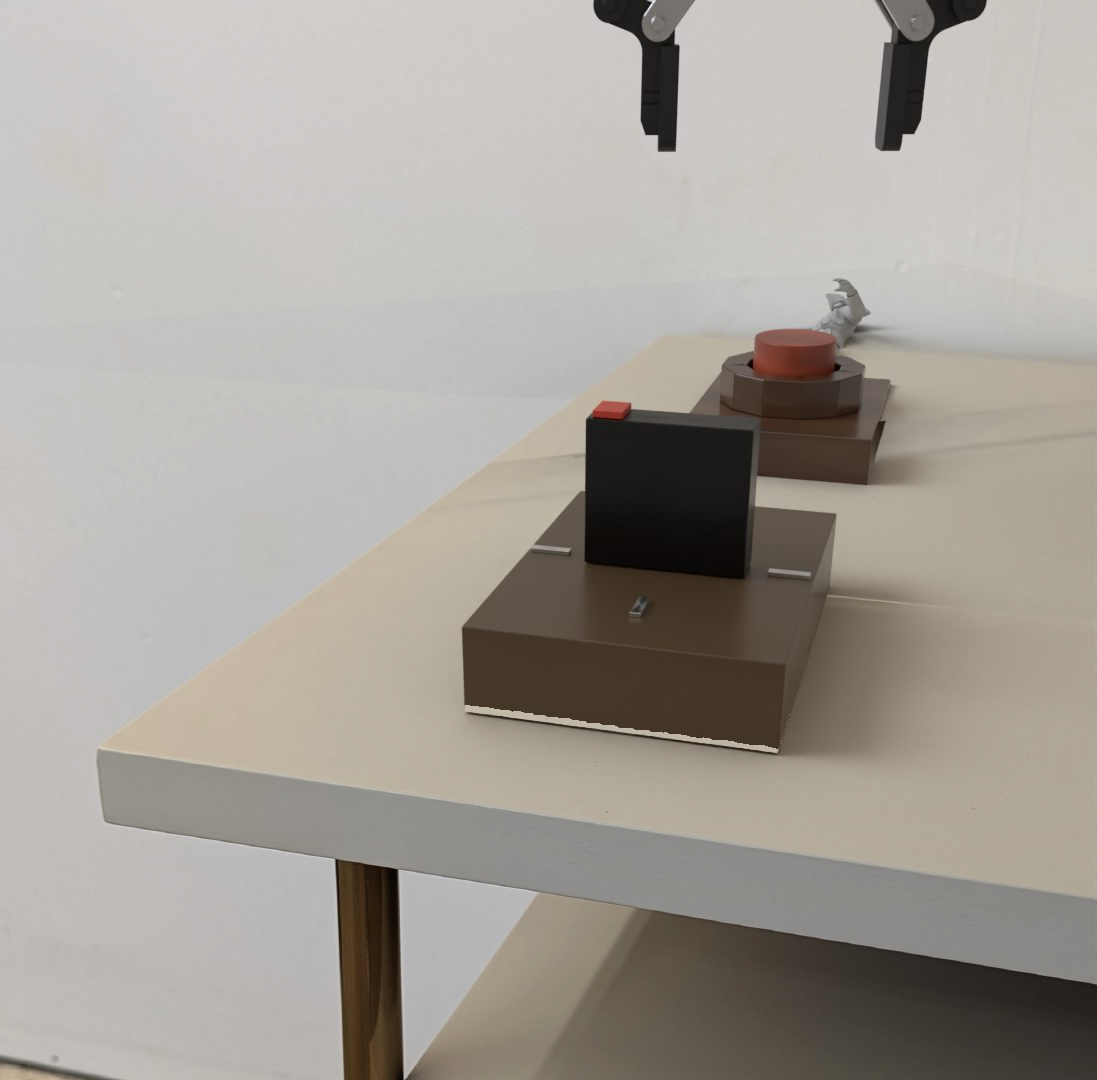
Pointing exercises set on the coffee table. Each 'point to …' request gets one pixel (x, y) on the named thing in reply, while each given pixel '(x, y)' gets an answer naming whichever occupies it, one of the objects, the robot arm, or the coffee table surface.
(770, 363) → the red push button
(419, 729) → the coffee table surface
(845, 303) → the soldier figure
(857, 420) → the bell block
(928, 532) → the coffee table surface
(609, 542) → the battery-shaped black case
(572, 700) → the plate
